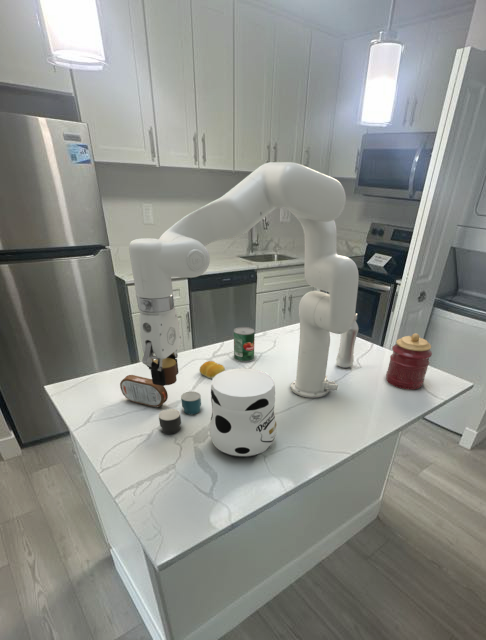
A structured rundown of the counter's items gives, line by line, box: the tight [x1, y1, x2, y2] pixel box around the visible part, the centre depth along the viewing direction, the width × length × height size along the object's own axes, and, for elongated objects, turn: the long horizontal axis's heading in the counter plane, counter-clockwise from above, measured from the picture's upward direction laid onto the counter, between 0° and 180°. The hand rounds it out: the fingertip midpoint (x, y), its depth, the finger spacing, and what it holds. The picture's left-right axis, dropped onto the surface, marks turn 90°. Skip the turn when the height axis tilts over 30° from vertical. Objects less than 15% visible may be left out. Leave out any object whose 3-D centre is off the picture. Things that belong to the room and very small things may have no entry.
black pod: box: [158, 408, 182, 435], centre depth 101 cm, size 6×6×5 cm
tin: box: [119, 374, 169, 408], centre depth 111 cm, size 15×3×8 cm, turn 71°
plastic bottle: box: [335, 312, 360, 369], centre depth 137 cm, size 6×7×20 cm
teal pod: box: [180, 391, 202, 415], centre depth 110 cm, size 6×6×5 cm
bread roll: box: [199, 360, 226, 379], centre depth 131 cm, size 8×9×4 cm
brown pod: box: [154, 358, 178, 386], centre depth 89 cm, size 6×6×5 cm
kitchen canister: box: [385, 333, 433, 390], centre depth 128 cm, size 13×13×18 cm
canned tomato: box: [233, 326, 256, 363], centre depth 142 cm, size 8×8×11 cm
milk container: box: [209, 367, 278, 458], centre depth 94 cm, size 17×17×18 cm
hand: (166, 378), depth 90 cm, fingers closed on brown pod, 5 cm apart
